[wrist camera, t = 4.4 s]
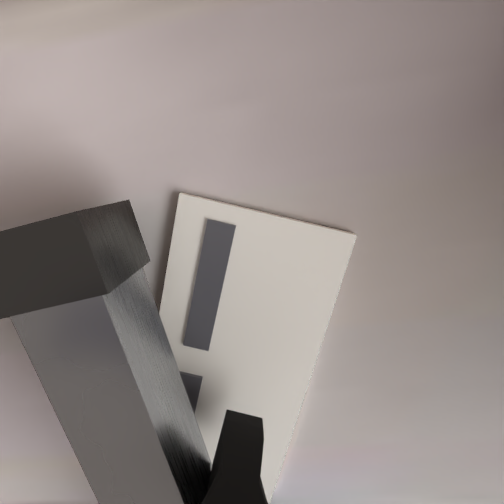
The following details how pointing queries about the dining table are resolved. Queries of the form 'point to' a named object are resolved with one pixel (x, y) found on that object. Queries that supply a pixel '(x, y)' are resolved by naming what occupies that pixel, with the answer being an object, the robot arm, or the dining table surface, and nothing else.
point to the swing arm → (104, 354)
